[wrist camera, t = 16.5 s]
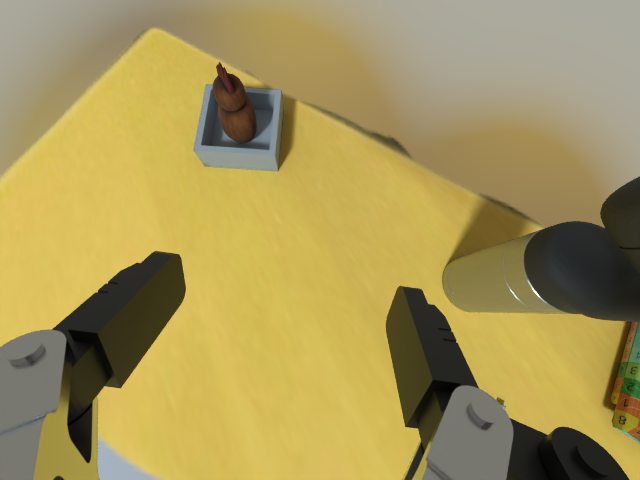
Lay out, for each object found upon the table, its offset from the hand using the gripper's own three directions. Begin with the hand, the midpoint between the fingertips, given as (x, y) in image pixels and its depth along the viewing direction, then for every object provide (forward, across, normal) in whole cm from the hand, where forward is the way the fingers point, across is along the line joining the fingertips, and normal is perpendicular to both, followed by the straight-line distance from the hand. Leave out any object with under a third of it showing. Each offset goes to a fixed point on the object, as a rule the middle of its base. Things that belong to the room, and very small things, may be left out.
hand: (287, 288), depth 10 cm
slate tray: (+44, +15, +4) cm, 46 cm away
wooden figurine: (+44, +15, +3) cm, 46 cm away
